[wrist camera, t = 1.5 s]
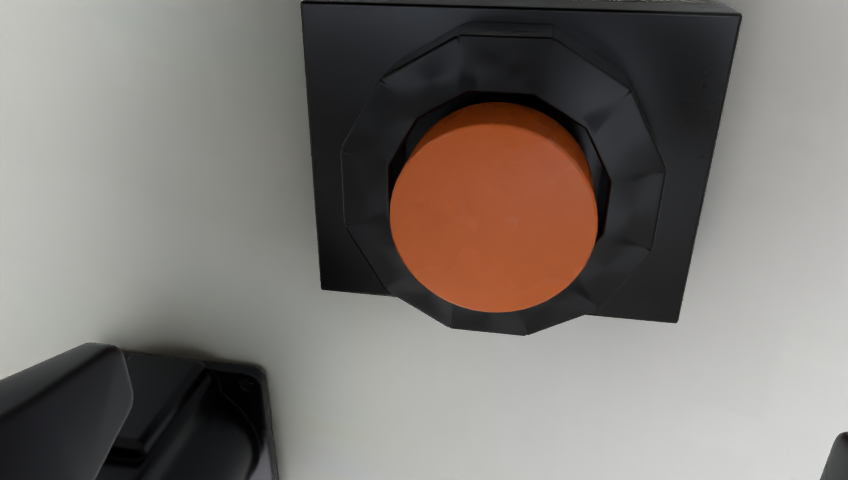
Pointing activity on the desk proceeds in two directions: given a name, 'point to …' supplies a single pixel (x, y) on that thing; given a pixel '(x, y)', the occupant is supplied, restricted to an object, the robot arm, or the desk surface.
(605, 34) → the panel
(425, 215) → the release button
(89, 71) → the desk surface
